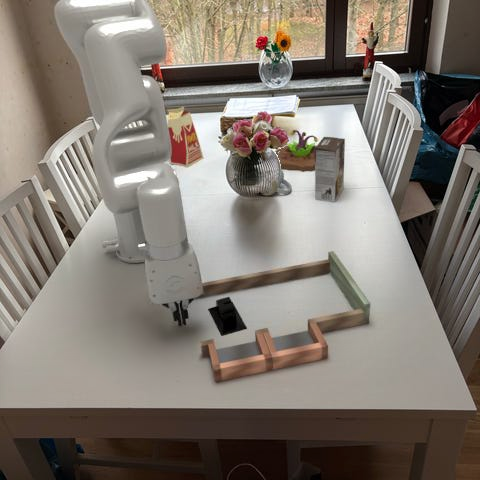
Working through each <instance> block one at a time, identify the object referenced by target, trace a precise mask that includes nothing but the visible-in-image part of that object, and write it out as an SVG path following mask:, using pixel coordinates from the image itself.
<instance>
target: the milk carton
mask: <svg viewBox="0 0 480 480" xmlns="http://www.w3.org/2000/svg"><path fill="white" fill-rule="evenodd" d="M167 112H168V117H167V124H168V129H169V135H170V141H171V148H172V153H171V157H170V159H169V161H170V165H175V166H180V167H183V168H189V167H191V166H192V165H195V164H197V163H198V162H200V161H202V160H203V159H204V155H203V151H202V147H201V144H200V141H199V137H198V134H197V131H196V128H195V125H194V121H193V118H192V115H191V112H190V111H187V110H185V106H182V107H178V108H175V109H167Z"/></svg>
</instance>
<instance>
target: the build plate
mask: <svg viewBox="0 0 480 480" xmlns="http://www.w3.org/2000/svg"><path fill="white" fill-rule="evenodd" d="M207 311H208V312H209V314H210V316H211V318H212V320H213V322H214V324H215V327H216V328H217V331H218V332H219V334H220V336H221V337H223V336H228V335H230V334H234V333H238V332H241V331H244V330H247V329H248V327H247V325H246V324H245V322H244V320H243V318H242V317H241V314H240V313H239V311H238V309H237V307H236V305H235V304H234V302H233V301H232V299H231V297H230V296H226V297H223V298H220V299H216V300H215V306H213V307H209V308H208V309H207Z"/></svg>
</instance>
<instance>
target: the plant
mask: <svg viewBox="0 0 480 480" xmlns="http://www.w3.org/2000/svg"><path fill="white" fill-rule="evenodd" d="M296 133H297V135H298V142H296V141H294V140H293V141H292V143H289V142H287V143H288V144H287V143H286V145H284V146H285V147H284V148H281V147H280V148H281V149H279V148H277V149H276V150H275V151H274V152H276V154H277V155H278V152H279V151H280V154H279V155H278V158H279V160H280V164H281V169H282V171H289V172H290V171H295V172H296V171H297V172H302V173H305V172H315V148H316V146H317V145H316V144H317V142H318V141H319V139H318V137H316V136H314V135H307V133H306V131H305V132H304V131H303V132H302V133H301V132H300V131H298V130H297V129H293V130H291V131H290V136H294V135H295V134H296ZM304 137H305V138H304ZM310 138H313V141H314V142H312V143H310V144H308V143H309V142H308V140H309V139H310Z"/></svg>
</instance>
